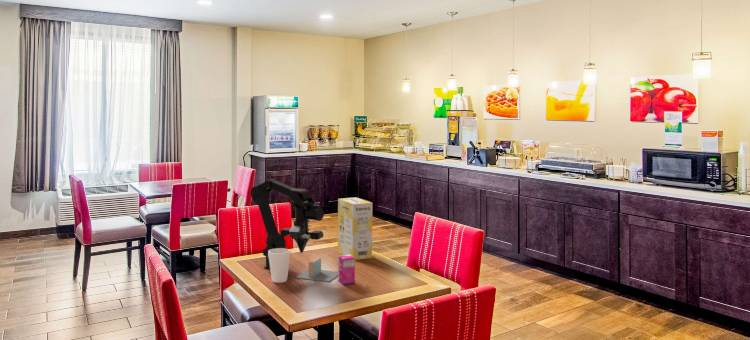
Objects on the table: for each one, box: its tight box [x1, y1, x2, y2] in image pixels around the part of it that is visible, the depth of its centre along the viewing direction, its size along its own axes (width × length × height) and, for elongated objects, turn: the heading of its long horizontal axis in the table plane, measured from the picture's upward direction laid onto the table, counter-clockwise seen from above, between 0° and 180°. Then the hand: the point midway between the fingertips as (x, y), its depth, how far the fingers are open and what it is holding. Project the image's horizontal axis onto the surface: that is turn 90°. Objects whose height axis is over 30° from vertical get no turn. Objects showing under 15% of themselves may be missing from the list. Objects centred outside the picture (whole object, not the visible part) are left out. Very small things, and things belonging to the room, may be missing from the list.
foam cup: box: [268, 247, 292, 284], centre depth 230 cm, size 10×9×13 cm
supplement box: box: [337, 254, 356, 286], centre depth 229 cm, size 6×6×12 cm
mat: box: [295, 268, 338, 283], centre depth 238 cm, size 16×14×1 cm
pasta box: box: [337, 196, 373, 261], centre depth 273 cm, size 18×10×28 cm, turn 28°
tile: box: [308, 257, 322, 277], centre depth 239 cm, size 2×8×6 cm, turn 162°
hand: (301, 252), depth 240 cm, fingers closed
